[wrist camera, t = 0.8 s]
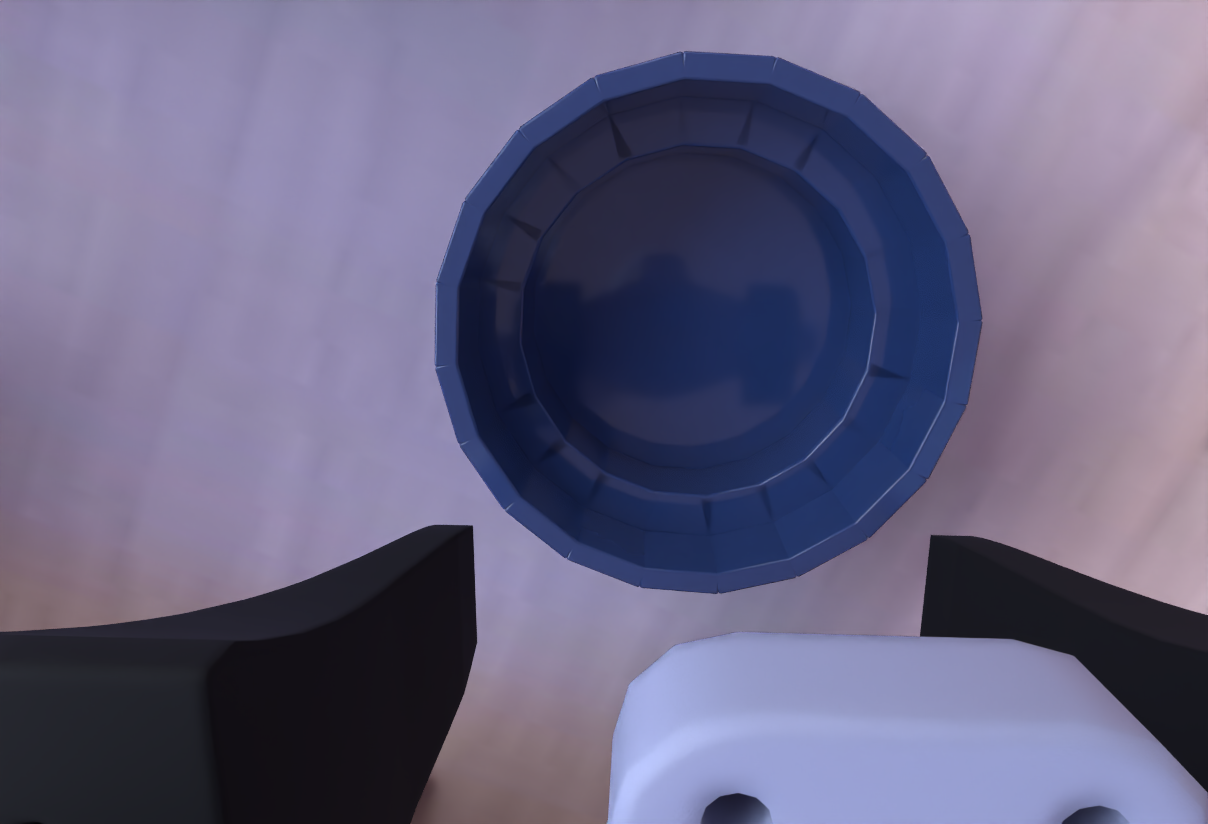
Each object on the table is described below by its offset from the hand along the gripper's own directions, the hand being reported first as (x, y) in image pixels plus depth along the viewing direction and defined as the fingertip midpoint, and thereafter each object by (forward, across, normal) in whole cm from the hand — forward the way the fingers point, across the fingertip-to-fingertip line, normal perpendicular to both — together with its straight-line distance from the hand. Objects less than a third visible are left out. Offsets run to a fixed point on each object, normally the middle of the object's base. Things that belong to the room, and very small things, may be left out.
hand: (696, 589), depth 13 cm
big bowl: (+10, 0, -3) cm, 10 cm away
